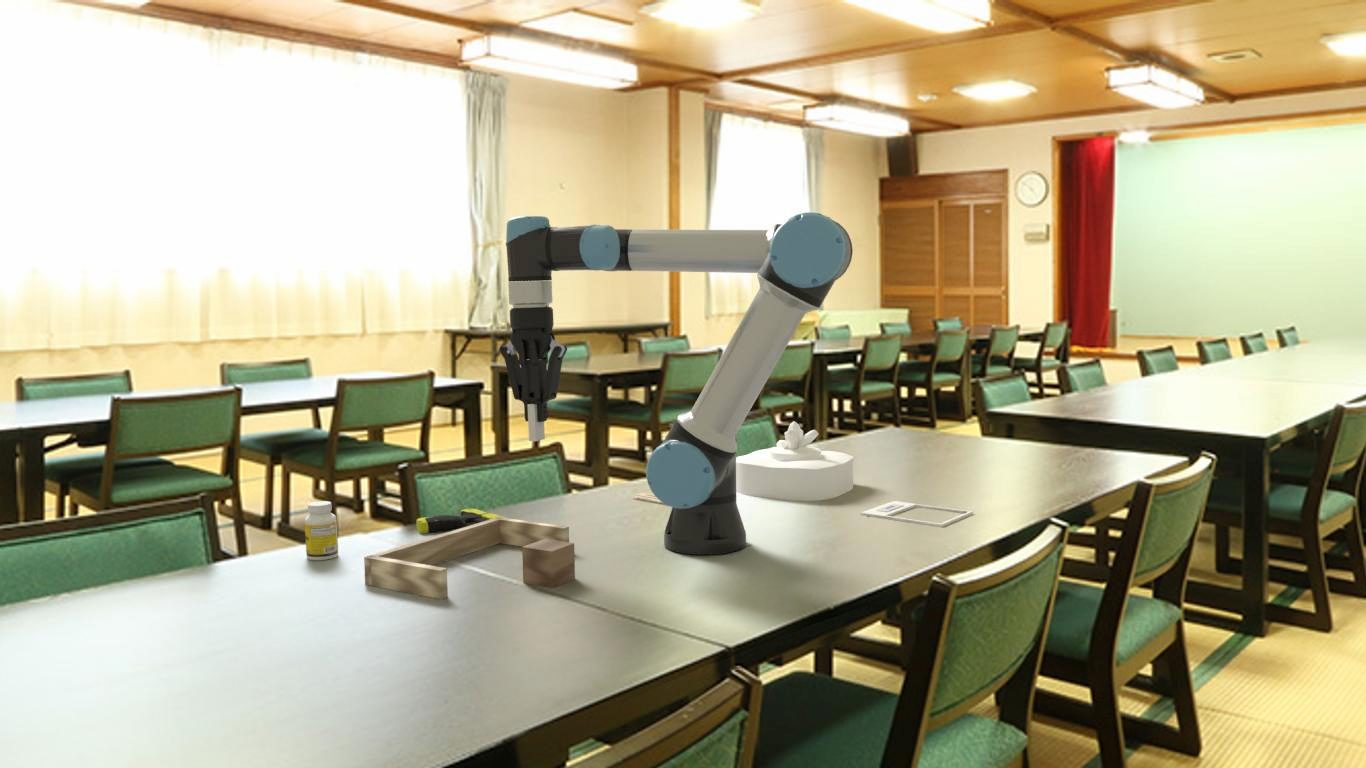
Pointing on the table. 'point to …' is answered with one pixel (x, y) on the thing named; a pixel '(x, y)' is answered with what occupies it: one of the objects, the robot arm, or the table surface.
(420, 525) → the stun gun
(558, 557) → the cube
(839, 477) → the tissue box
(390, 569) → the bay
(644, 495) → the wooden plank
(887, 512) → the photo frame
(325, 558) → the supplement bottle
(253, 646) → the table surface
